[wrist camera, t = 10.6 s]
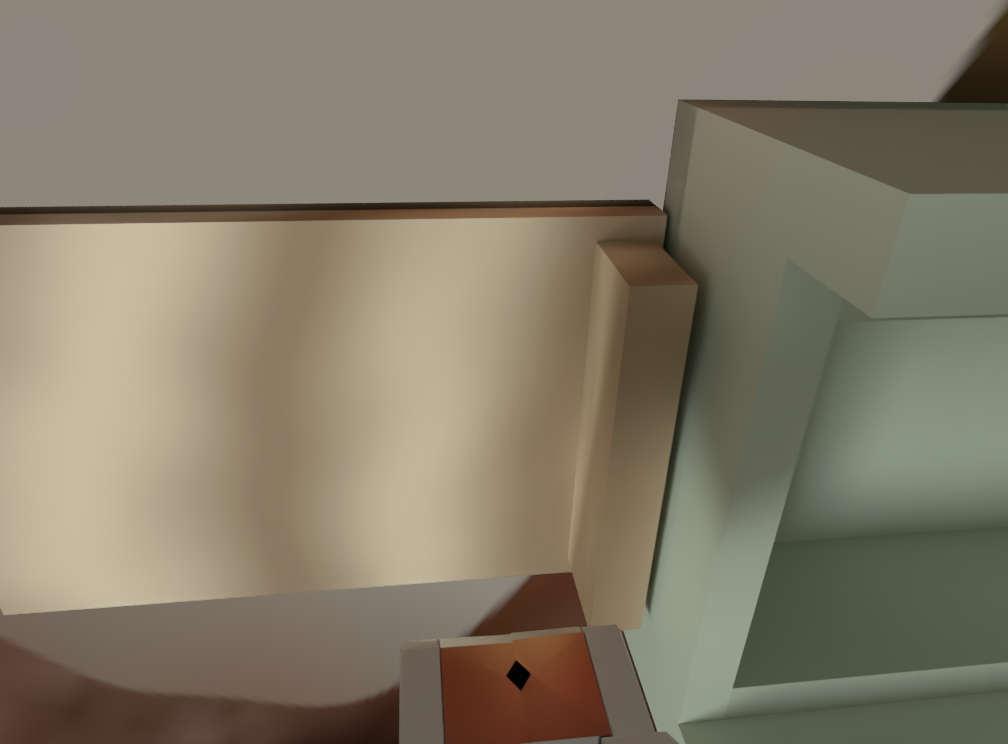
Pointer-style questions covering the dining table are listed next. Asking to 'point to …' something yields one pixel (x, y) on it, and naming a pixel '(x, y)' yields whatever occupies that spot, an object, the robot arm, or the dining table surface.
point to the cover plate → (334, 398)
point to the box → (836, 428)
